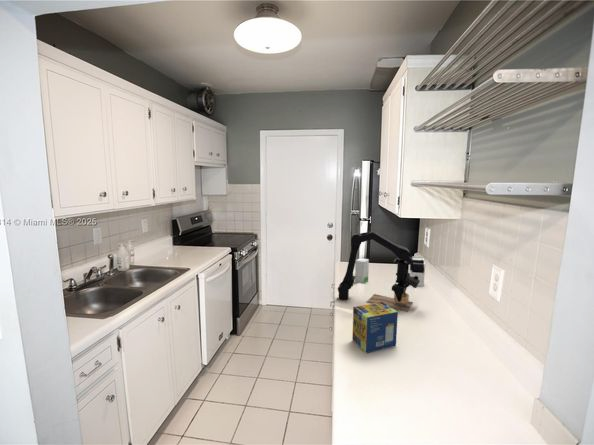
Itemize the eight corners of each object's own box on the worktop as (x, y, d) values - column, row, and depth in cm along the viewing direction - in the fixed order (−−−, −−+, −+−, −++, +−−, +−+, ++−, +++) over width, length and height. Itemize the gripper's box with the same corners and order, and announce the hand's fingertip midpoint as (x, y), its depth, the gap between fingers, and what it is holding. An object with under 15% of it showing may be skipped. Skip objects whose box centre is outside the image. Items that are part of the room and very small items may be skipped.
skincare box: (363, 285, 195) (364, 262, 192) (354, 282, 199) (354, 260, 196) (368, 281, 201) (369, 259, 199) (359, 279, 205) (360, 257, 203)
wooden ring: (406, 304, 156) (406, 298, 155) (392, 301, 160) (392, 295, 159) (409, 299, 162) (409, 293, 161) (396, 296, 166) (396, 290, 165)
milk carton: (423, 286, 192) (425, 258, 189) (412, 286, 192) (414, 257, 189) (419, 282, 199) (421, 255, 196) (408, 282, 199) (410, 255, 196)
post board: (407, 314, 153) (408, 302, 152) (366, 304, 164) (366, 293, 163) (413, 304, 164) (413, 293, 163) (374, 296, 176) (374, 285, 175)
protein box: (351, 340, 129) (352, 306, 127) (381, 333, 134) (382, 301, 132) (365, 353, 119) (366, 317, 117) (396, 346, 125) (398, 311, 122)
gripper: (415, 279, 146) (413, 309, 148) (422, 269, 162) (420, 296, 164) (392, 275, 152) (390, 303, 154) (401, 265, 168) (399, 292, 170)
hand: (401, 299), depth 160 cm, fingers closed on wooden ring, 7 cm apart
